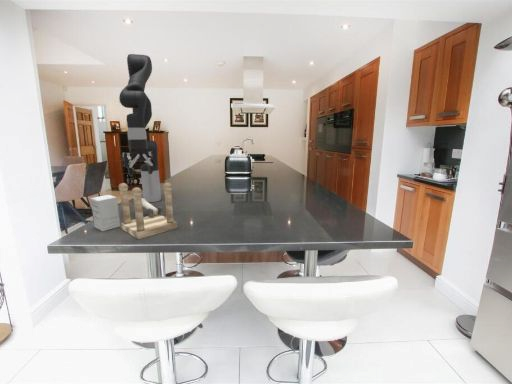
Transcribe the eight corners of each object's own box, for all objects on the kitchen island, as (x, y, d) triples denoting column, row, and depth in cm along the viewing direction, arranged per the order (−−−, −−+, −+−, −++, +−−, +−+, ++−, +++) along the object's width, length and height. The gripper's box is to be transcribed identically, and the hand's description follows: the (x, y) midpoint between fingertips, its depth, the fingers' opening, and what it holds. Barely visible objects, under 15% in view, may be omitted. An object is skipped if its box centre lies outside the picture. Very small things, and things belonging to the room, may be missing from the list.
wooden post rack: (121, 228, 107) (115, 183, 103) (159, 218, 119) (156, 177, 115) (138, 239, 97) (133, 189, 93) (179, 227, 109) (176, 182, 105)
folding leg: (151, 215, 114) (137, 204, 123) (159, 214, 117) (144, 203, 126) (151, 208, 113) (136, 197, 122) (159, 207, 116) (144, 196, 124)
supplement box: (113, 222, 114) (109, 194, 112) (120, 226, 110) (117, 196, 107) (94, 227, 109) (89, 197, 106) (101, 231, 104) (97, 200, 101)
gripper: (149, 138, 125) (152, 172, 128) (117, 138, 115) (121, 176, 118) (156, 138, 120) (160, 174, 123) (124, 138, 110) (128, 177, 113)
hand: (141, 175), depth 121 cm, fingers open, 8 cm apart
